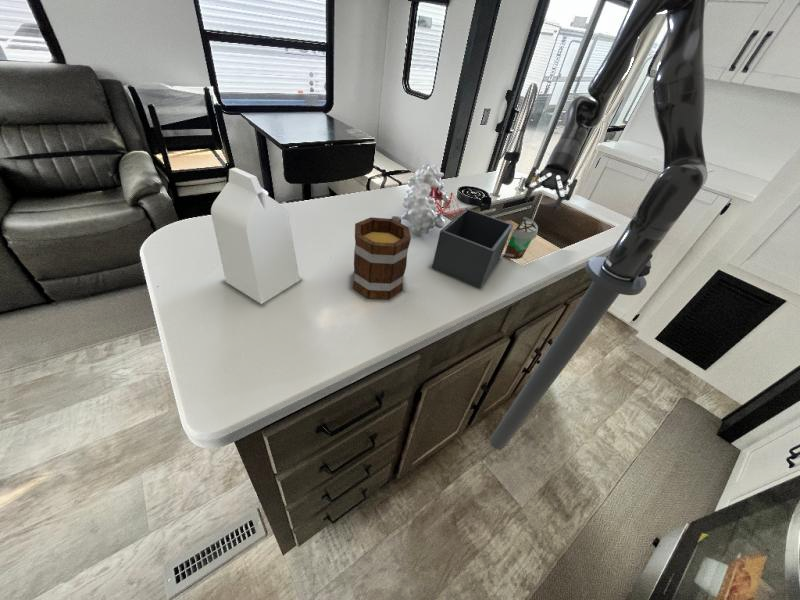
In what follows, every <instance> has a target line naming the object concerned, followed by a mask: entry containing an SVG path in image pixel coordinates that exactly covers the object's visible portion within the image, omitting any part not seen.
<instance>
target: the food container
mask: <svg viewBox="0 0 800 600" xmlns="http://www.w3.org/2000/svg"><path fill="white" fill-rule="evenodd" d="M538 231H539V226H538V224H537V223H536V221H534V220H532V219H531V218H529V217H526V216H523V218H522V220H521V221H520V223H519V224H518V225H517V226H516V228H514V229H513V230H512V231H511V235H510V238H509V240H508V242H507V246H506V248H505V252H504V254H503V258H506V259H509V260H518V259H519V260H520V259H522V258H523V257H524V255H525V254H526V251H527V249H528V248H529V245H530V244H531V242H532V240H533V239H535V238H536V237H537V235H538Z"/></svg>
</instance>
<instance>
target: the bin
mask: <svg viewBox="0 0 800 600" xmlns="http://www.w3.org/2000/svg"><path fill="white" fill-rule="evenodd" d="M456 216H457V217H455V216H454V218H453V219H452V220H451V221H449V222H448V223H447V224H446V225H444V227H443V228H441V229H440V230H439V236H438V238H437V242H436V247H435V252H434V257H433V261H432V266H431V268H432V269H434V270H436V271H439V272H441V273H443V274H444V275H445V274H446V275H448V276H450V277H452V278H455V279H456V280H459V281H462V282H464V283H467V284H469V285H471V286H473V287H475V288H478V289H481V287H482V286H483V285H484V283H485V282H486V280H487V279H488V277H489V276H490V274H491V273H492V271H493V269H494V268H495V267H496V265H498V262H499V261H500V260H501V258H502V255H503V252H504V249H505V247H506V244H507V243H508V239H509V237H510V234H511V233H512V229H513V226H514V224H513V223H510V222H508V221H505V220H502V219H500V218H496V217H494V216H491V215H487V214H485V213H482V212H479V211H476V210H473V209H471V208H468V207H466V208H464V209H462V212H461V213H460V212H459V214H457V215H456Z"/></svg>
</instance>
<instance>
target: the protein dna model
mask: <svg viewBox="0 0 800 600" xmlns="http://www.w3.org/2000/svg"><path fill="white" fill-rule="evenodd" d="M444 176H445V174H444V172H441V171H440V169H439V164H438V163H435V164H433V165H432V166H431V164H430V162H426V163H425V164H423V165H422V169H419V168H417V169H415V172H414V174H412V175H410V177H409V178H408V182H407V186H408V189H407V190H406V194H407V195H405V197H403V201H402V206H403V208H404V209H405V212H404V213H403V215H401V217H400V218H401V220H407V221H408V223H409V224H410V226H411V227H412V228H411V231H412V232H413V233H414V234H415V235H416V236H418V235H421V234H425V235H429V234H430V230H431V229H434V228H437V229H443V228H444V227H445V226H446V225H445V224H446V219H445V218H443V215H448V216H450V217H454V218H455V217H457V216H458V214H457V211H456V208H455V205H453V209H454V213H455V214H452V212H451V209H450V208H448V207H449V206H450V204H451V203H454V201H455V202H456V201H457V199H456V198H455V196H454V193H453V192H450V197H448V196H447V194H448V191H447V189H445V186H444V183H443V181H442V178H443V177H444ZM453 199H454V200H453ZM444 200H445V201H446V202H447V204H446V206H444V208H443V207H442V206H443V203H442V202H443V201H444ZM438 201H439V202H438ZM450 202H451V203H450ZM456 206H457V208H458V211H459V214H460V213H461V212H462V211H463V207H461V208H460V207H459V204H458V203H456ZM447 208H448V210H449V213H447V212H446V209H447ZM436 209H437V210H436Z"/></svg>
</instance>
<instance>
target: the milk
mask: <svg viewBox="0 0 800 600" xmlns="http://www.w3.org/2000/svg"><path fill="white" fill-rule="evenodd" d="M210 207H211V208H210V215H211V220H212V224H213V228H214V233H215V238H216V242H217V246H218V252H219V256H220V261H221V265H222V270H223V275H224V279H225V283H227V284H228V285H230V286H232V288H235V289H236V290H237V291H240V292H241V293H243V294H244V295H246V296H248V297H249V298H251V299H252V300H254V301H255V302H257V303H259V304H260V305H263V304H265V303H266V302H267V301H269V300H271V299H272V298H274V297H275V296H277V295H279V294H281V293H282V292H284V291H285V290H286V289H288V288H290V287H292V286H293V285H295V284H297V283H298V282H299V281H301V280H300V272H299V267H298V262H297V261H298V260H297V255H296V249H295V245H294V238H293V232H292V225H291V220H290V214H289V211H288V210H287V208H286V207H285V206H284V205H282V204H281V203H279V202H278V201H277V200H275V199H274V198H272V197H270V195H269V192H268V191H267V190H266V189H264V188H263V187H262V186H261V184H260V181H259V179H258V177H257V176H256V175H254V174H251V173H249V172H247V171H245V170H242V169H240V168H237V167H232V168H229V169H228V181H227V183H226V184H225V186H224V187H223V188H222V190H221V191H220V193H219V194H218V195H217V197H216V198H215V199H214V201H213V203H212V205H211V206H210Z"/></svg>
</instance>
